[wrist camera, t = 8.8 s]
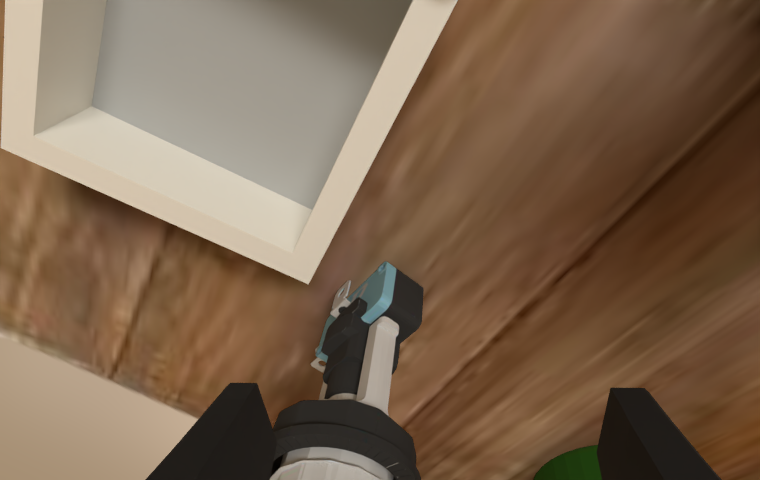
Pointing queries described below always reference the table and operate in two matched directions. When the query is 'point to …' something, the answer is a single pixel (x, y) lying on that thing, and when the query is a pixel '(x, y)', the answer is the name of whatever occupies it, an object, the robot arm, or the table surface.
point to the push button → (354, 389)
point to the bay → (217, 107)
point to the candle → (572, 466)
